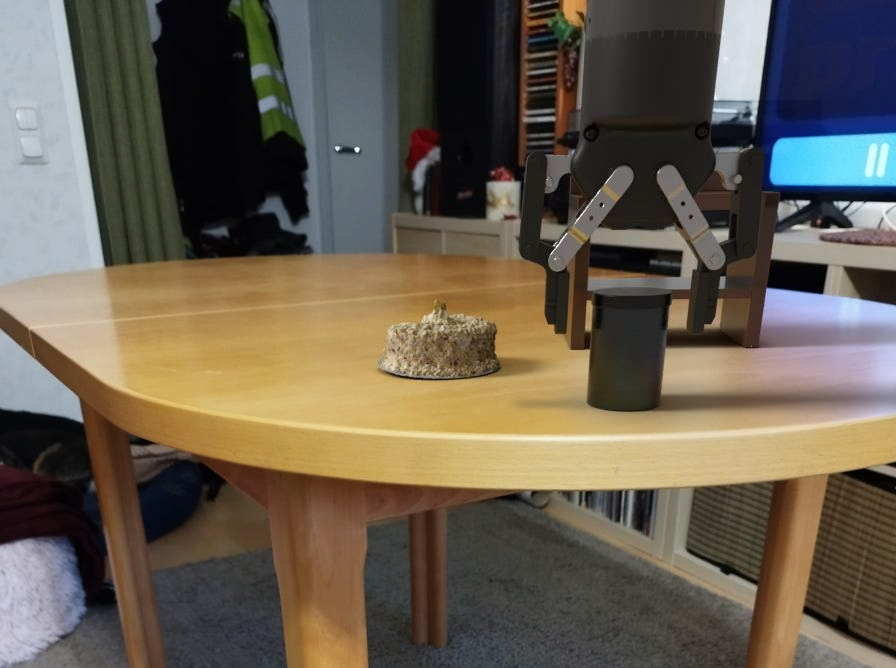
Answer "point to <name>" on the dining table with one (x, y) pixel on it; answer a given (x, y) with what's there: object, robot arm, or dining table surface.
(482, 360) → the cake
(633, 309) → the spice tin
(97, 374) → the dining table surface
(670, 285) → the spice rack
